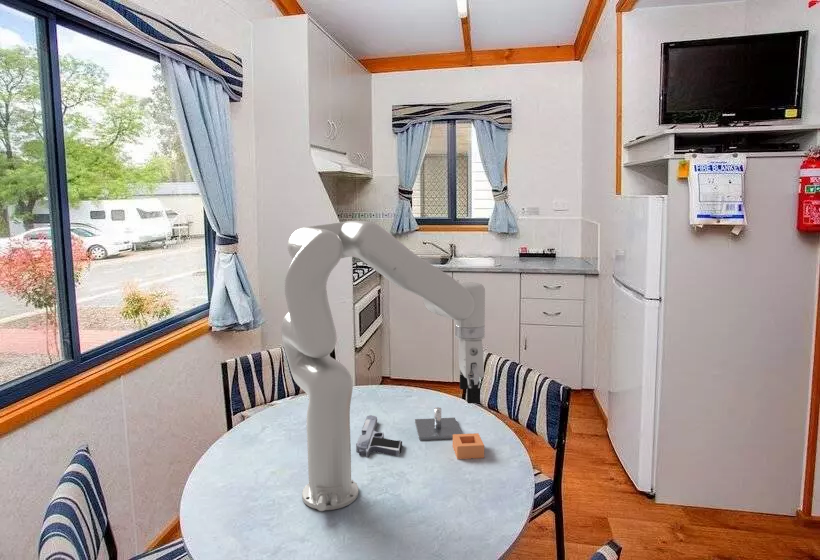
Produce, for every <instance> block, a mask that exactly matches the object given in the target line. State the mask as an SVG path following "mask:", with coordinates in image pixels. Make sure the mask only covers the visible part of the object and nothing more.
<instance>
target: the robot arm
mask: <svg viewBox="0 0 820 560" xmlns="http://www.w3.org/2000/svg"><path fill="white" fill-rule="evenodd" d="M287 251H288V254H289V256H290V258H292V261H291V263H290V265H289V267H288V269H287V271H286V275H285V278H284V295H285V300H286V305H287V311H288V312H287V313H286V314H285V315H284V317H283V318H282V321H281V326H280V336H281V340H282V344H283V348H284V353H285V355H286V358H287V364H288V367H289V370H290V373H291V376H292V378H293V380H294V382H295V384H296V385H297V386H298V387H299V388H300V389H301V390H302V391H304V393H306V395H307V396H308V406H307V411H306V419H305V420H306V442H307V467H308V468H307V470H308V471H307V472H308V483H307V484H306V485H305V486H304V487H303V489H302V491H301V498H302V502H303V503H304V504H305V505H306V506H308V507H310V508H311V509H314V510H318V511H320V512H323V511H333V510H334V511H335V510H339V509H342V508H345V507H347V506H349V505H350V504H352V503H353V502H355V500H356V499H357V498H358V497H359V485H358V484H357V483H356V482H355V481H354V480H353V479H352V453H351V452H352V450H351V449H352V447H351V446H352V444H351V403H352V396H353V387H354V385H353V384H354V383H353V379H352V375H351V373H350V371H349V369H348V368H346V366H345V365H343V364H342V362H340V361H338V360H336V359H335V358H333V357H332V356H330V354H331V353H333V351H334V349H335V348H336V346H337V340H338V338H337V337H338V336H337V330H336V326H335V323H334V320H333V315H332V311H331V306H330V303H329V298H328V292H327V284H328V283H327V282H328V280H329V276H330V275H331V273H332V271H333V270H334V269H335V268H336V266H337V265H338V264H339V263H340V260H341V259H344V258H351V257H352V258H357V259H359V260H361V261H362V262H364V264H366V265H368V267H370V268H371V269H373V270H375V271H376V272H377V273H379V274H380V275H381V276H383V277H384V278H385V279H386V280H388V282H390V283H391V284H393V285H395V286H397V287H398V288H400V289H402V290H404V291H407V292H409V293H412V294H414V295H417V296H419V297H421V298H422V302H423V305H424V307H425V308H426V309H427V311H429V312H431V314H434V315H437V316H440V317H444V318H447V319H451V320H453V321H454V338H455V339H457V340H458V351H457V353H458V355H457V356H458V368H459V373H460V374H459V389H460V390H466V403H467V404H479V403H481V383H480V378H481V379H483V378H484V377H485V372H484V371H485V369H484V366H485V365H484V363H485V362H484V348H483V340H484V339H485V336H486V335H485V334H486V333H485V332H486V328H485V327H486V325H485V323H486V316H485V315H486V289H485V288H486V287H485V286H484V285H483V284H482V283H479V282H461V283H459V282H458V281H457V280H456V279H455V278H453V277H452V276H450V274H448V273H446V272H444V271H443V270H441V269H440V268H438V267H436V266H435V265H433V264H432V263H430V262H429V261H427V260H425V259H423V258H422V257H420V256H418V255H417V254H416V253H415V252H413V251H412V250H410V248H408V247H407V246H406V245H405V244H403V243H402V242H401V241H400V240H399V239H397V238H395V236H394V235H392V234H391V233H390V232H388V230H386V229H385V228H383V227H382V226H381V225H379V224H378V223H375V222H372V221H364V220H347V221H340V222H333V223H327V224H326V223H325V224H319V225H310V226H303V227H301V228H298V229H296V230H295V231H294V232H293V233H292V234H291V236H290V237H289V239H288V241H287Z"/></svg>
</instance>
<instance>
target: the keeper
mask: <svg viewBox="0 0 820 560" xmlns="http://www.w3.org/2000/svg"><path fill="white" fill-rule="evenodd" d="M433 412H434V413H433V415H434V417H433V418H416V419H414V423H415V429H416V432H417V435H418V436H419V437H418V436H417V437H418V439H419V440H420V441H436V440H437V441H439V440H438V439H442V440H453V434H463V433H462V431H461V429H460V426H459V424H458V422H457V420H456V417H443V418H442V408H441V407H438V406H437V407H435V408H434V411H433Z"/></svg>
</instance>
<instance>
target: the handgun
mask: <svg viewBox="0 0 820 560" xmlns="http://www.w3.org/2000/svg"><path fill="white" fill-rule="evenodd" d="M377 425H378V417H377V416H375V415H371V414H370V415H366V418H365V421H364V423H363V425H362V429H361V434H359V437H358V440H357V442H356V444H355V446H356V447H355V448H356V449H355V450H356V453H358V455H359V456H363V455H364V454H365V457H366V458H367V457H368V458H369V456H370V454H372V453H378V452H379V454H383V453H384V455H388V456H393V455H394V456H393V457H399V456H400V454H401V453H402V448H403V441H402V440H401V439H400V440H399V439H398V440H393V439H388V438H385V433H384V431H383V432H378V431H376V429H377ZM399 453H400V454H399Z"/></svg>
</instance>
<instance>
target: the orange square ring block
mask: <svg viewBox="0 0 820 560" xmlns="http://www.w3.org/2000/svg"><path fill="white" fill-rule="evenodd" d="M452 448H453V451H455V452H454V454H455V457H456V459H457V460H468V459H470V460H471V458H473V459H484V458H485V443H484V441H483V440H482V437H481V436H480V434H479V432H477V433H462V434H453V439H452Z"/></svg>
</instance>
